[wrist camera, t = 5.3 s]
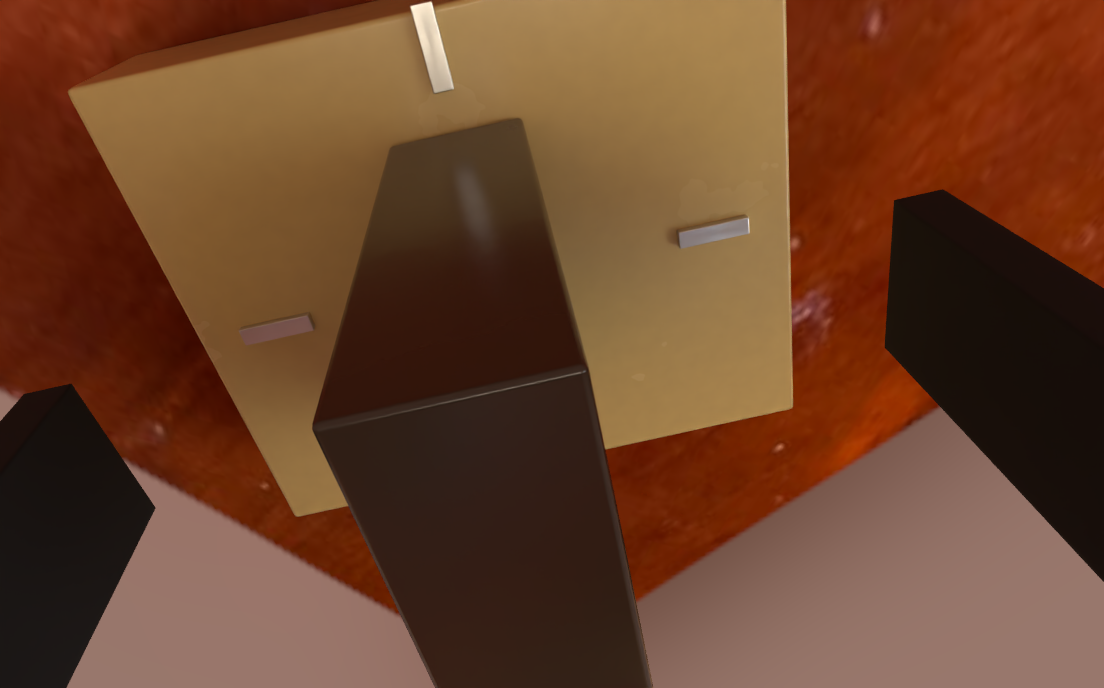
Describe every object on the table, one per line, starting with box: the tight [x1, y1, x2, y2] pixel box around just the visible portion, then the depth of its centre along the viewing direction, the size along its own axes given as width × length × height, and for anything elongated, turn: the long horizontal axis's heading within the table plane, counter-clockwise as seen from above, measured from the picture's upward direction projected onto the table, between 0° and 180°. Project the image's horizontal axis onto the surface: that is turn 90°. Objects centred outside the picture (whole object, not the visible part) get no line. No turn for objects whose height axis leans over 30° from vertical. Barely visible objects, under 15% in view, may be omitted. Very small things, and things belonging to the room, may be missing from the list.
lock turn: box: [312, 118, 653, 688], centre depth 11 cm, size 6×2×8 cm, turn 11°
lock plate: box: [68, 0, 793, 517], centre depth 16 cm, size 12×10×3 cm
